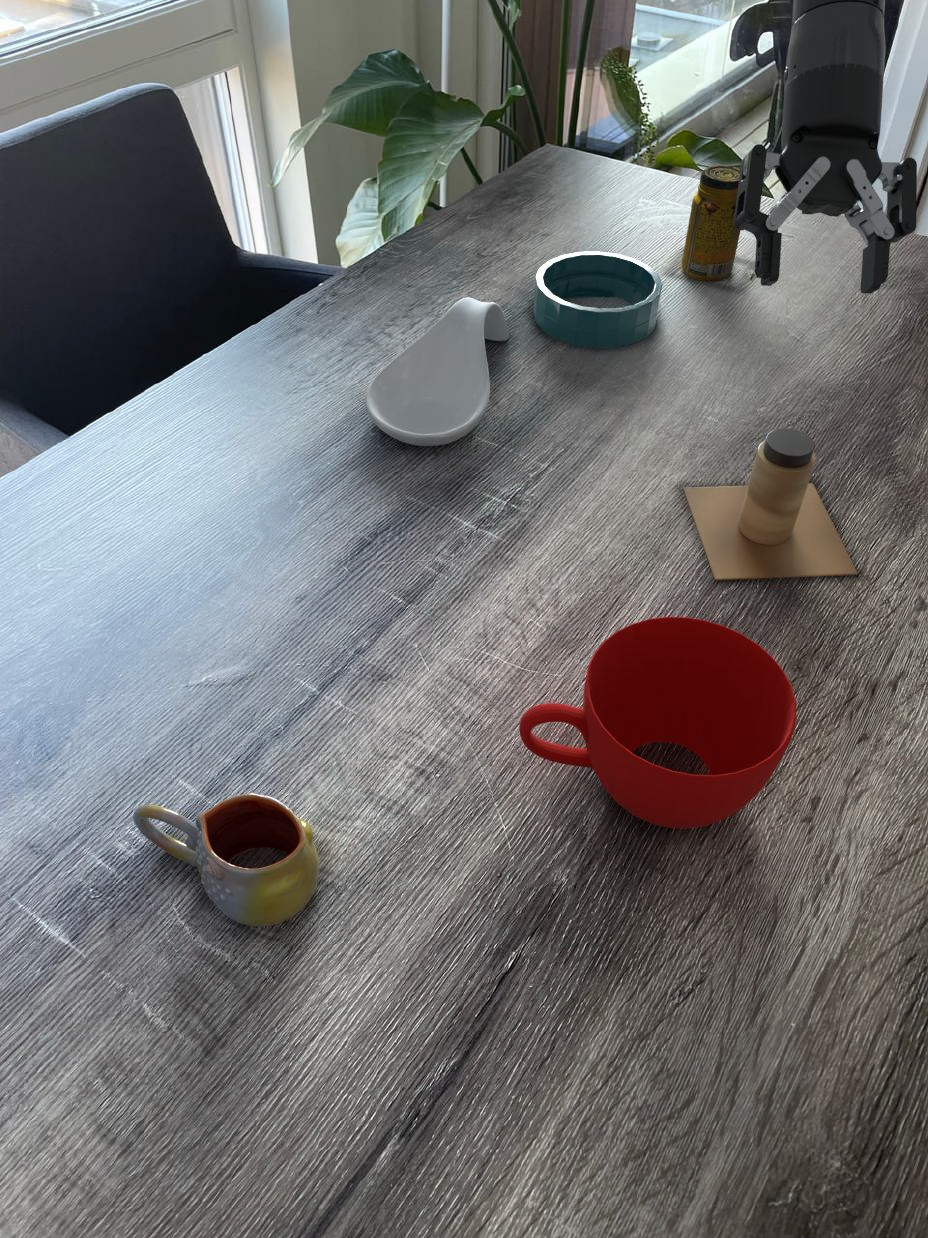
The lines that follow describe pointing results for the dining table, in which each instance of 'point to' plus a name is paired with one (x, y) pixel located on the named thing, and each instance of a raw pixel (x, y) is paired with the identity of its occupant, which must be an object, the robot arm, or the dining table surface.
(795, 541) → the plate
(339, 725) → the dining table surface
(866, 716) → the dining table surface
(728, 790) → the ceramic cup
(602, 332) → the pot
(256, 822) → the mug
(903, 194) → the robot arm
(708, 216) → the condiment
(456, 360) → the spoon rest
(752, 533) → the pepper mill
